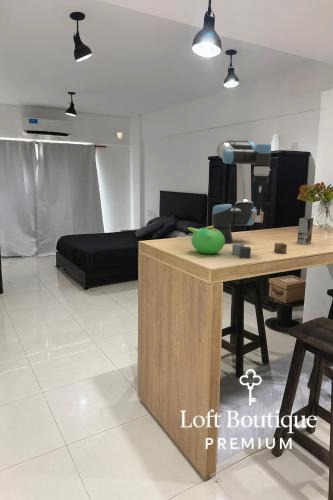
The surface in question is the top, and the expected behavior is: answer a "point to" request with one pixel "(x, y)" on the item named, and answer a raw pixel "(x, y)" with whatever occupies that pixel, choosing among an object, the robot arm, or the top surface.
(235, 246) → the slate grey cube
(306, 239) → the coffee box
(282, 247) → the walnut cube
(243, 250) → the black rubber cube
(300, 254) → the top surface
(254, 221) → the terracotta cube
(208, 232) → the toy bird
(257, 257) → the top surface
